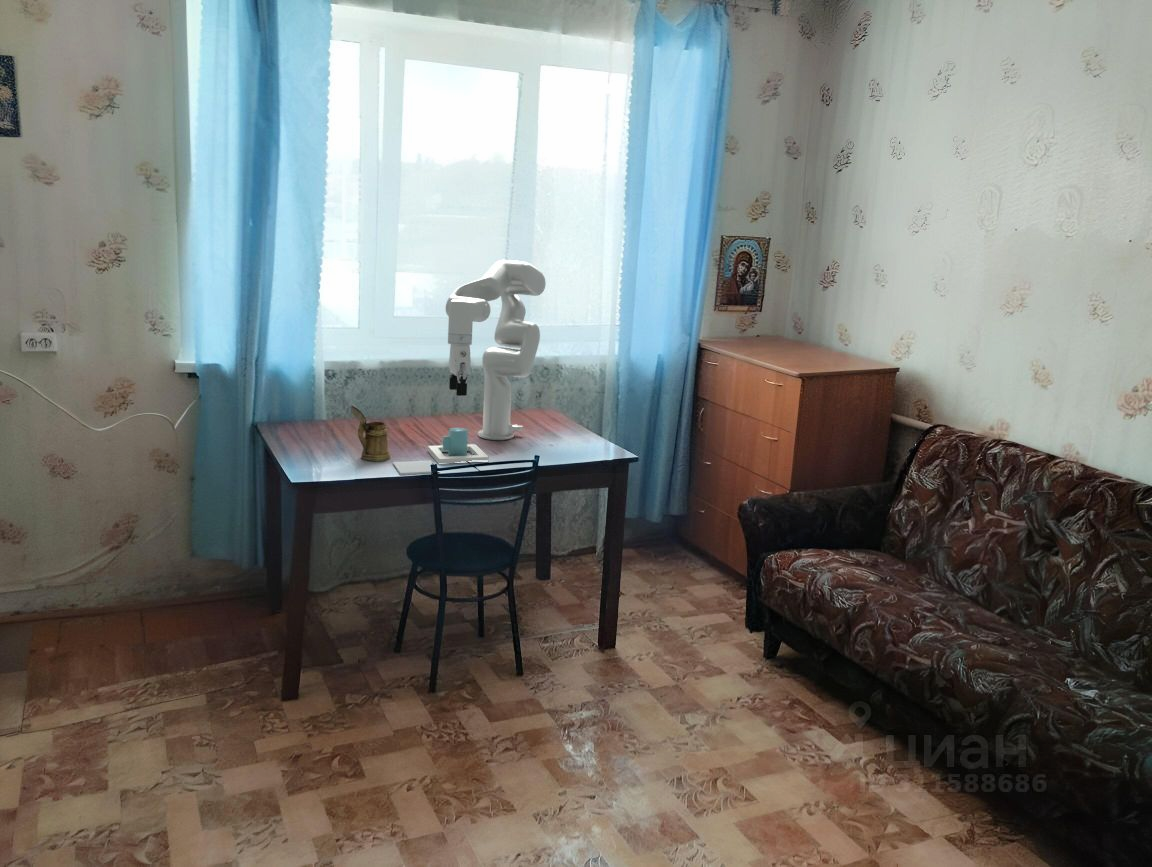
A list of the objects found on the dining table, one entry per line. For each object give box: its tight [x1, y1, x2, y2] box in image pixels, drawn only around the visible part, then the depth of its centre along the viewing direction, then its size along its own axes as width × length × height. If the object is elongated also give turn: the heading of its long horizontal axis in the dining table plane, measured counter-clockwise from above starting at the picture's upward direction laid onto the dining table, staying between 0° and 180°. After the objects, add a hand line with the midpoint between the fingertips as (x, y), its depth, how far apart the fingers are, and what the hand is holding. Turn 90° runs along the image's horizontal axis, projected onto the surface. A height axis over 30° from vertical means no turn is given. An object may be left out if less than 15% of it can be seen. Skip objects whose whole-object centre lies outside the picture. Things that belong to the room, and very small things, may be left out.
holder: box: [427, 443, 489, 464], centre depth 319 cm, size 16×16×2 cm
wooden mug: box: [350, 405, 391, 462], centre depth 309 cm, size 9×14×18 cm, turn 134°
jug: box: [441, 427, 469, 457], centre depth 318 cm, size 8×6×9 cm
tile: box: [392, 459, 434, 476], centre depth 303 cm, size 12×12×1 cm
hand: (457, 392), depth 314 cm, fingers open, 9 cm apart
